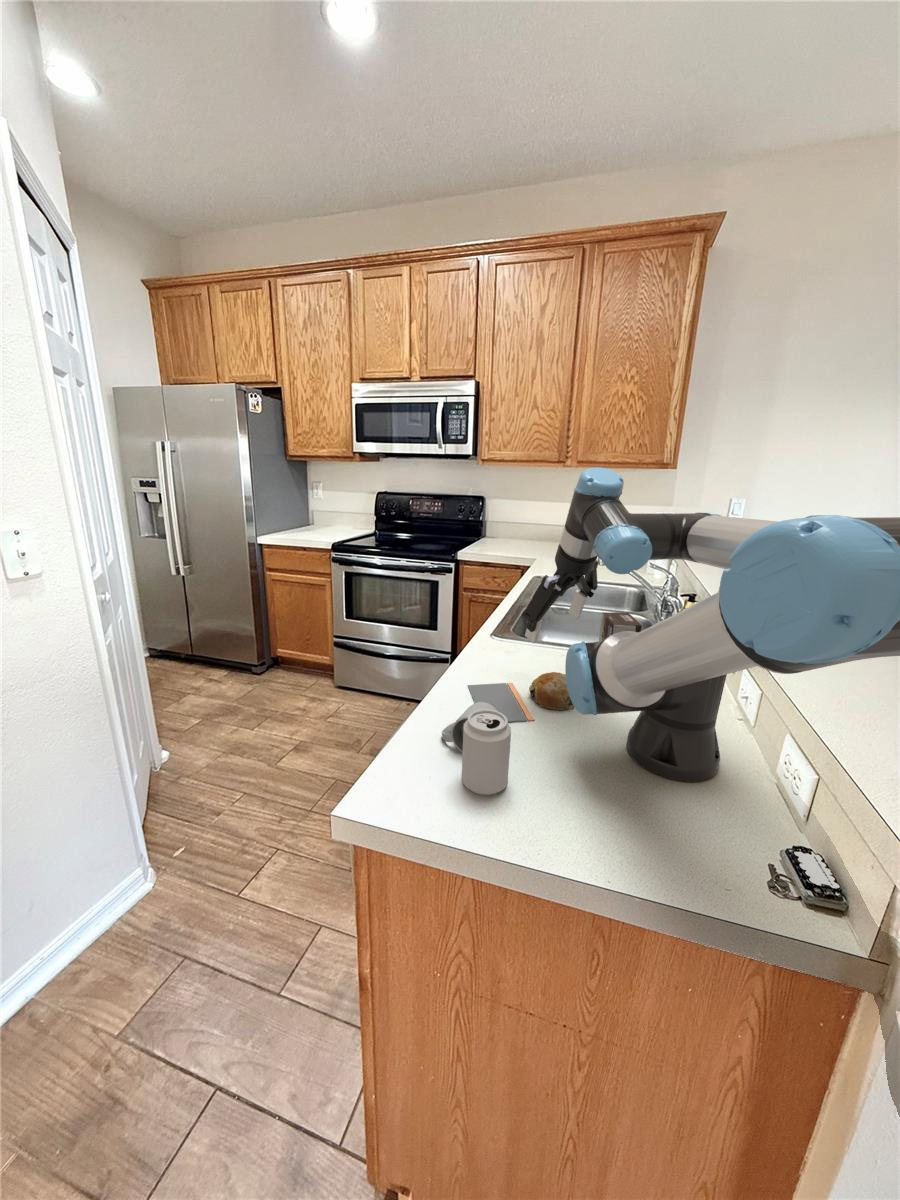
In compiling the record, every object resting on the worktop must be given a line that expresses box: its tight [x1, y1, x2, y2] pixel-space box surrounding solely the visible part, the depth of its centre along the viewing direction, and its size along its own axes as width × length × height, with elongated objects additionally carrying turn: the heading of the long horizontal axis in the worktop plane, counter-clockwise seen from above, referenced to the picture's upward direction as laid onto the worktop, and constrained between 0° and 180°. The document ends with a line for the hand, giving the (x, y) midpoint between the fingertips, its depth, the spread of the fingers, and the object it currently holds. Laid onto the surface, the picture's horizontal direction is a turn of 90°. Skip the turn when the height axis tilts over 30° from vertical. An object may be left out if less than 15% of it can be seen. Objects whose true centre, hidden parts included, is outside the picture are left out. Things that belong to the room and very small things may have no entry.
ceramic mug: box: [441, 702, 499, 754], centre depth 88 cm, size 11×8×8 cm
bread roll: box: [528, 671, 575, 711], centre depth 105 cm, size 10×10×8 cm
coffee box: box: [598, 611, 643, 641], centre depth 111 cm, size 9×6×16 cm
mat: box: [467, 682, 535, 724], centre depth 104 cm, size 16×10×1 cm, turn 9°
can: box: [461, 709, 512, 796], centre depth 77 cm, size 8×8×12 cm
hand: (552, 626), depth 106 cm, fingers open, 13 cm apart
